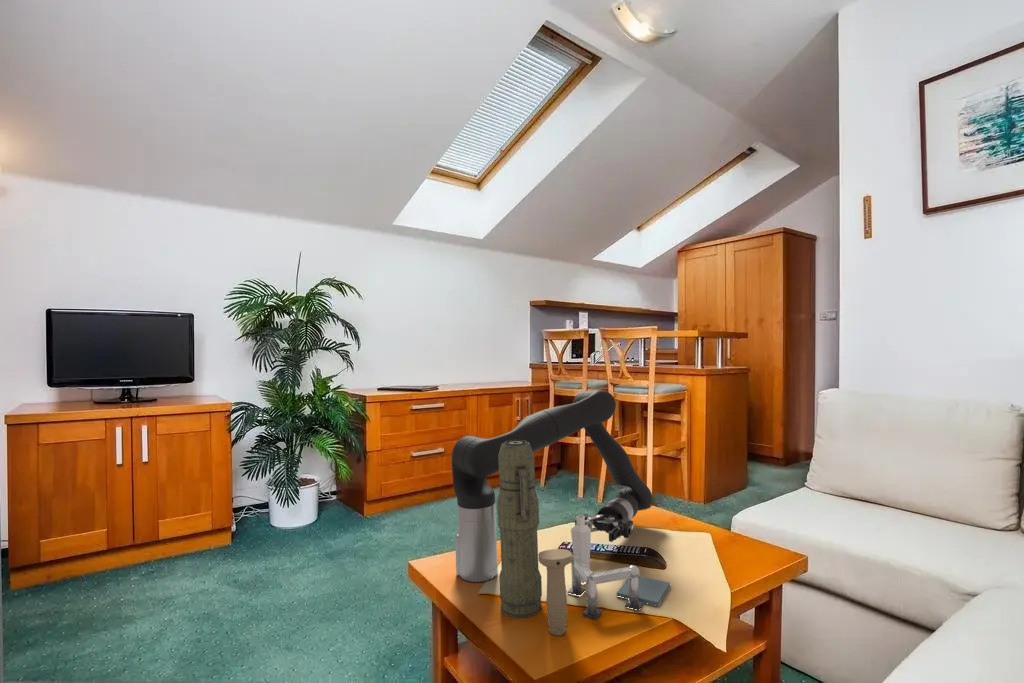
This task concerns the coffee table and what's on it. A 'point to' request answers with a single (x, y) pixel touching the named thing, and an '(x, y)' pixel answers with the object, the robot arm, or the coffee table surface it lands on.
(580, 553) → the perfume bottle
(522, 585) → the thermos
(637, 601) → the bent rail
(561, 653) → the coffee table surface
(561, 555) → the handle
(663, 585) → the slate mat
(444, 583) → the coffee table surface
